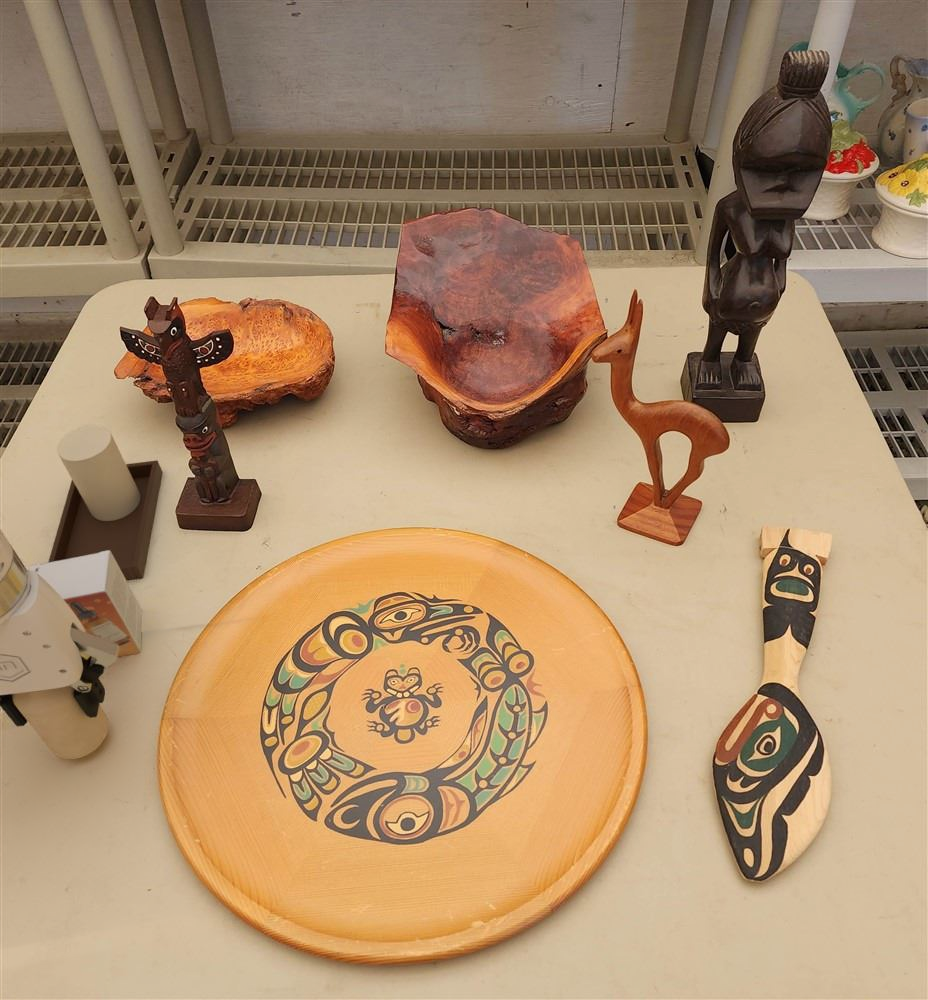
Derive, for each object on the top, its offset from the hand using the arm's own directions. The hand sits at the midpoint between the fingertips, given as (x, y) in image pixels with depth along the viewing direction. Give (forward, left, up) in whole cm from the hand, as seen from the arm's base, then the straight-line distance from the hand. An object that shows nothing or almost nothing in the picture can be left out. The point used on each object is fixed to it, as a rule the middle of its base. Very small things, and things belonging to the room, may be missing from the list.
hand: (60, 706), depth 78 cm
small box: (0, +12, -6) cm, 14 cm away
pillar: (-2, +32, -6) cm, 32 cm away
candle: (0, 0, -5) cm, 5 cm away
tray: (-2, +28, -6) cm, 29 cm away
